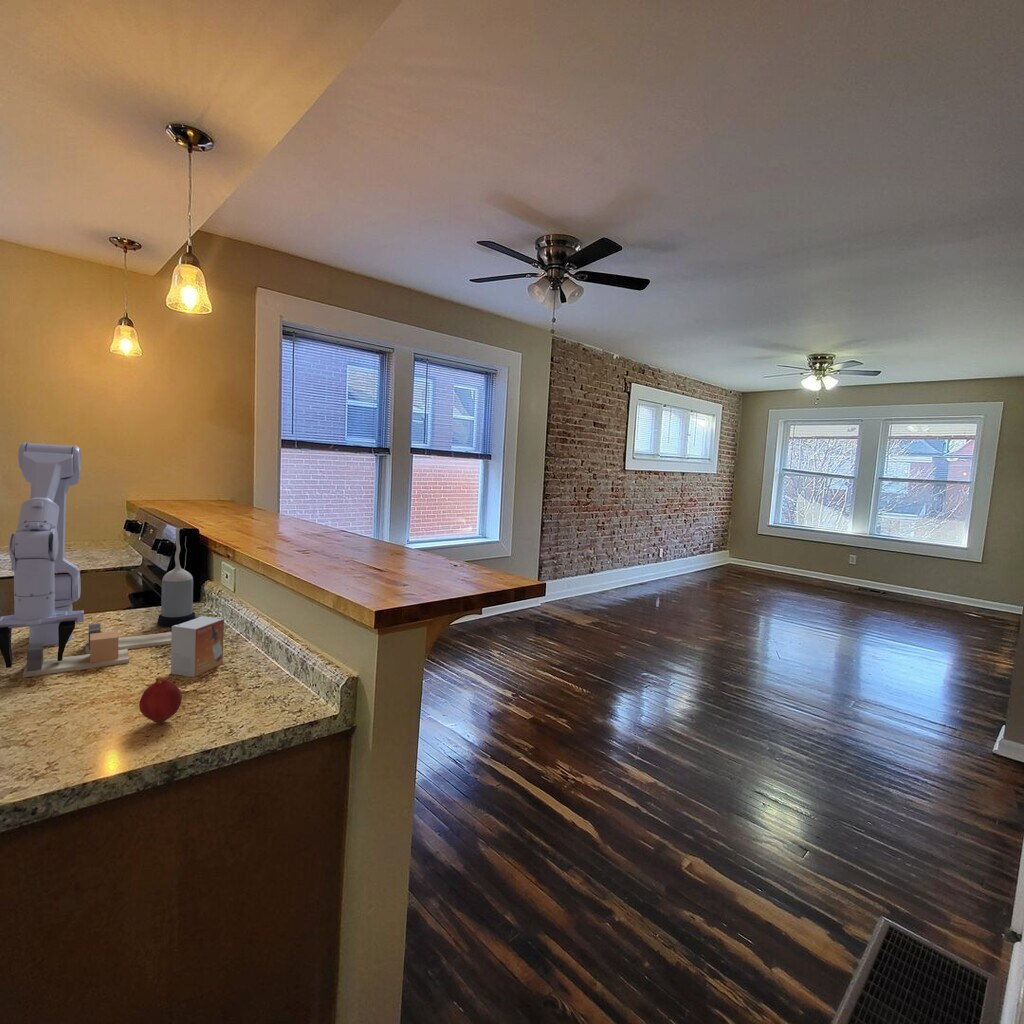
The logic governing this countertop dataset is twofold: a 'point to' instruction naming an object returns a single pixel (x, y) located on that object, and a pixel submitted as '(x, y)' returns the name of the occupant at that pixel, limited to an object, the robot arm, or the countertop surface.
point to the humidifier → (176, 594)
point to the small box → (197, 646)
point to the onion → (160, 700)
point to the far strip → (133, 639)
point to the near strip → (63, 661)
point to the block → (103, 646)
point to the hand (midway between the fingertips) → (35, 662)
